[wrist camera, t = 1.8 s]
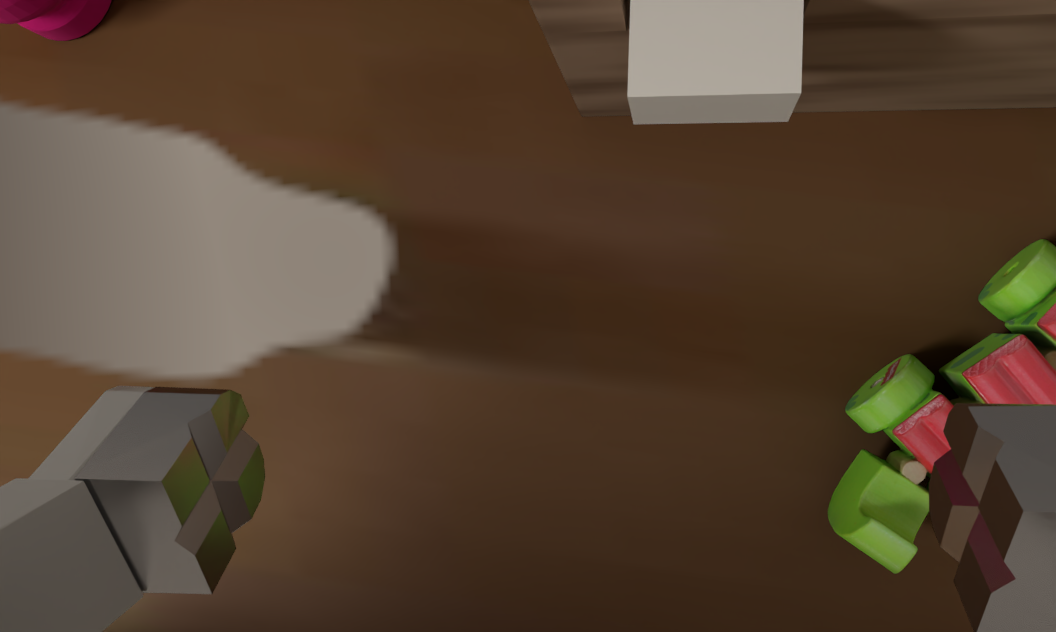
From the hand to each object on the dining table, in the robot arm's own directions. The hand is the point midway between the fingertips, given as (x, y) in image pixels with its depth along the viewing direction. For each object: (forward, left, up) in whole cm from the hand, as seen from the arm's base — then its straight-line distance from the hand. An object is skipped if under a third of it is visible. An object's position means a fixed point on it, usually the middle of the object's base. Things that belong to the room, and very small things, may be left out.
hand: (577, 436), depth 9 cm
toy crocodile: (0, -15, -31) cm, 34 cm away
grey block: (+12, -2, -19) cm, 22 cm away
